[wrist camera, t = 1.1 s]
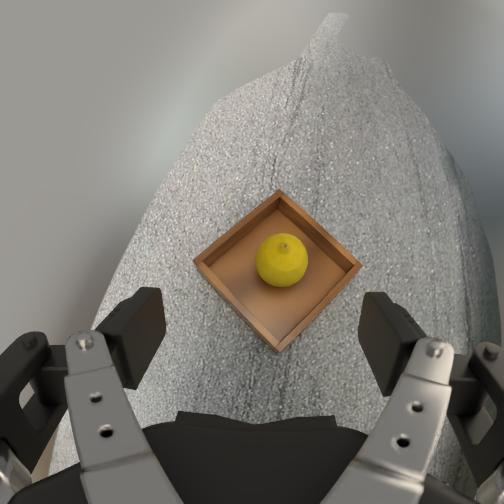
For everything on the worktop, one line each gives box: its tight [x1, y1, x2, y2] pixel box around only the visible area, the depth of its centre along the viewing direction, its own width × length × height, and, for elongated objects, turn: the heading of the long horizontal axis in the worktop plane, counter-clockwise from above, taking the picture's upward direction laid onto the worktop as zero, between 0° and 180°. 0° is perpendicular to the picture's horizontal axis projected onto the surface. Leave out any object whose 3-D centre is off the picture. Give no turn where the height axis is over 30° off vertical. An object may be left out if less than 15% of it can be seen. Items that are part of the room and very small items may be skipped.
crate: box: [193, 189, 363, 354], centre depth 34 cm, size 14×14×4 cm
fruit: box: [255, 233, 308, 287], centre depth 31 cm, size 6×6×8 cm
